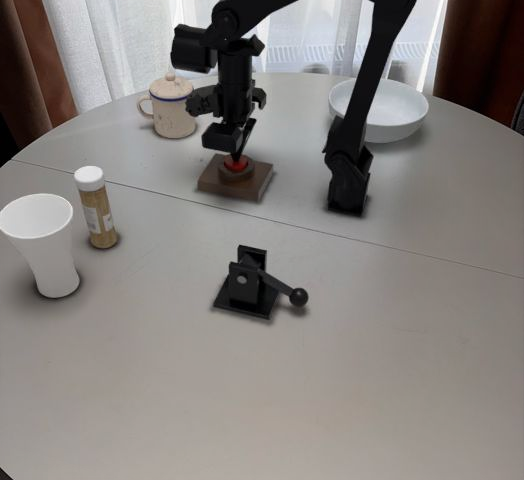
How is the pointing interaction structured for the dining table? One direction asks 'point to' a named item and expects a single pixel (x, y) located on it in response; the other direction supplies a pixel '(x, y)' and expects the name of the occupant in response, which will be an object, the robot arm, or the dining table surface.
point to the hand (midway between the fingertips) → (236, 160)
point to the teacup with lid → (169, 106)
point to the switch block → (236, 178)
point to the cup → (43, 240)
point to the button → (236, 163)
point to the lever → (278, 283)
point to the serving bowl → (384, 109)
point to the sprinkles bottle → (96, 206)
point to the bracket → (247, 287)
